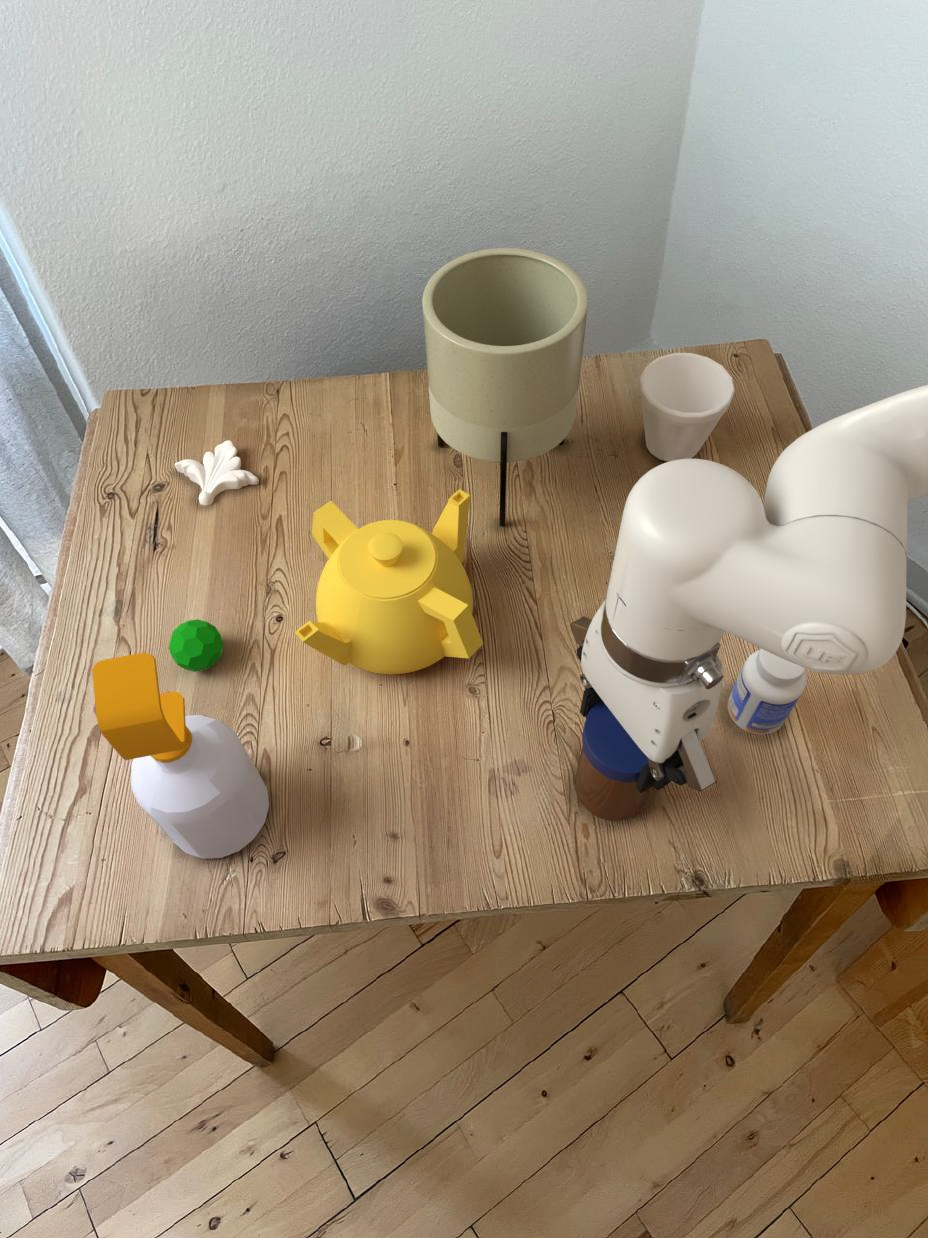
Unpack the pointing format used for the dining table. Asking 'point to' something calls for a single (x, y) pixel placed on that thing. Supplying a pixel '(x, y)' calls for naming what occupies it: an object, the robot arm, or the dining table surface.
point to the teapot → (393, 592)
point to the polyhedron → (196, 645)
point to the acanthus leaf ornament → (217, 472)
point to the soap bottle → (179, 760)
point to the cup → (682, 403)
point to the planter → (504, 354)
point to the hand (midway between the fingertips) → (625, 742)
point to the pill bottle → (765, 692)
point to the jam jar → (607, 793)
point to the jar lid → (611, 746)
